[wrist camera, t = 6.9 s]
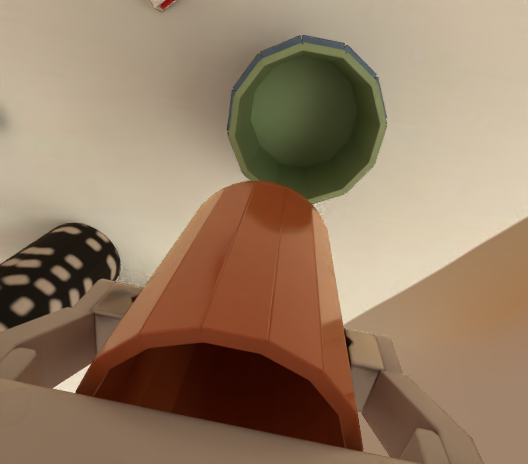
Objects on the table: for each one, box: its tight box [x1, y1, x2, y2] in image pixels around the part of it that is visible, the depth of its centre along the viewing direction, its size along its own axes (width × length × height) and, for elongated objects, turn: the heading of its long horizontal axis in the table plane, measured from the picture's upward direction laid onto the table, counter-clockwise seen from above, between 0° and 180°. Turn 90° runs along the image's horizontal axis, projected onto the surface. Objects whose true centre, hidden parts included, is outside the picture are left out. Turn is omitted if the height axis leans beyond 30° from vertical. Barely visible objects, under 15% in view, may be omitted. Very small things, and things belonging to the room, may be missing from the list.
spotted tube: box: [0, 223, 120, 332], centre depth 29 cm, size 8×8×20 cm
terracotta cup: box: [76, 181, 363, 452], centre depth 12 cm, size 6×6×10 cm
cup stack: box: [227, 35, 387, 204], centre depth 25 cm, size 10×10×10 cm
